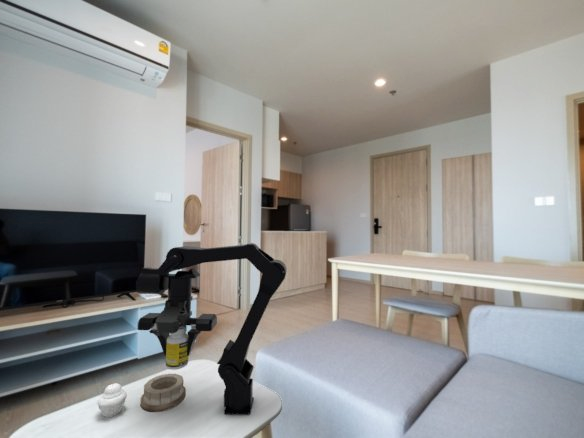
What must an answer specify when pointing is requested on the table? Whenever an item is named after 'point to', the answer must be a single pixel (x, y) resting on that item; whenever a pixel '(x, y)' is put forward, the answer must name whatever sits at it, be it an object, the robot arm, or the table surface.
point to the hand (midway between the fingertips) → (177, 355)
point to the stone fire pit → (163, 393)
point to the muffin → (112, 400)
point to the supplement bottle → (177, 349)
